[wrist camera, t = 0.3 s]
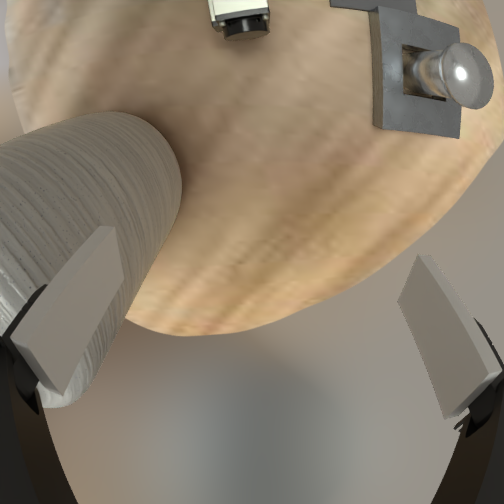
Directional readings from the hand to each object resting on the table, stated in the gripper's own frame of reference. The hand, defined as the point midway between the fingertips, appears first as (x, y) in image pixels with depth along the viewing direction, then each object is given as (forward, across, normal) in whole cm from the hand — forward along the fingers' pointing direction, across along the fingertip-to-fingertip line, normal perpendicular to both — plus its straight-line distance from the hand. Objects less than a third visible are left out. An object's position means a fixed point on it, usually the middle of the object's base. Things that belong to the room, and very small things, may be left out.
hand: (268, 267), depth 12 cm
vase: (+28, -19, -6) cm, 34 cm away
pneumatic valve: (+28, -5, +18) cm, 33 cm away
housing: (+27, +18, +13) cm, 35 cm away
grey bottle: (+27, +18, +13) cm, 35 cm away
